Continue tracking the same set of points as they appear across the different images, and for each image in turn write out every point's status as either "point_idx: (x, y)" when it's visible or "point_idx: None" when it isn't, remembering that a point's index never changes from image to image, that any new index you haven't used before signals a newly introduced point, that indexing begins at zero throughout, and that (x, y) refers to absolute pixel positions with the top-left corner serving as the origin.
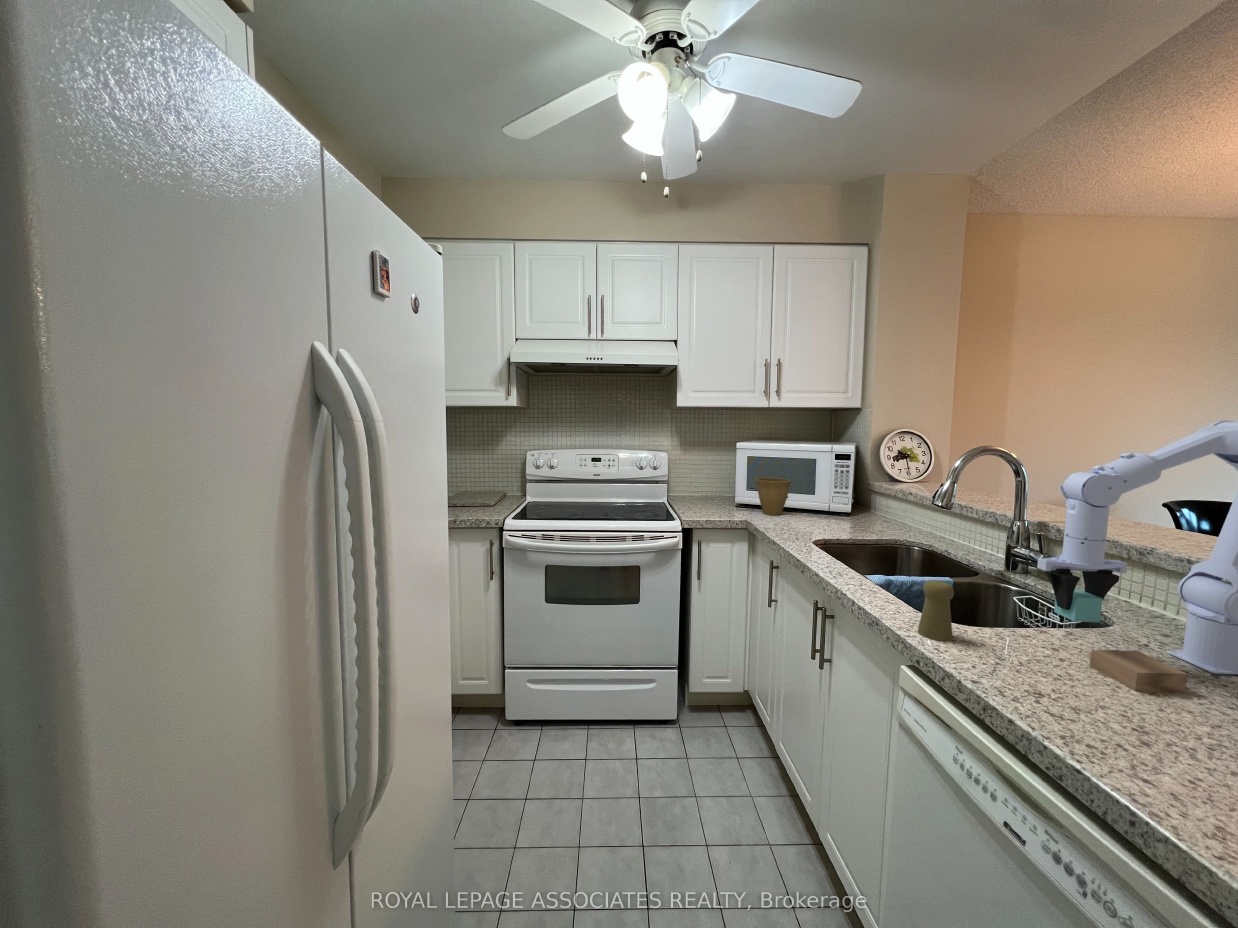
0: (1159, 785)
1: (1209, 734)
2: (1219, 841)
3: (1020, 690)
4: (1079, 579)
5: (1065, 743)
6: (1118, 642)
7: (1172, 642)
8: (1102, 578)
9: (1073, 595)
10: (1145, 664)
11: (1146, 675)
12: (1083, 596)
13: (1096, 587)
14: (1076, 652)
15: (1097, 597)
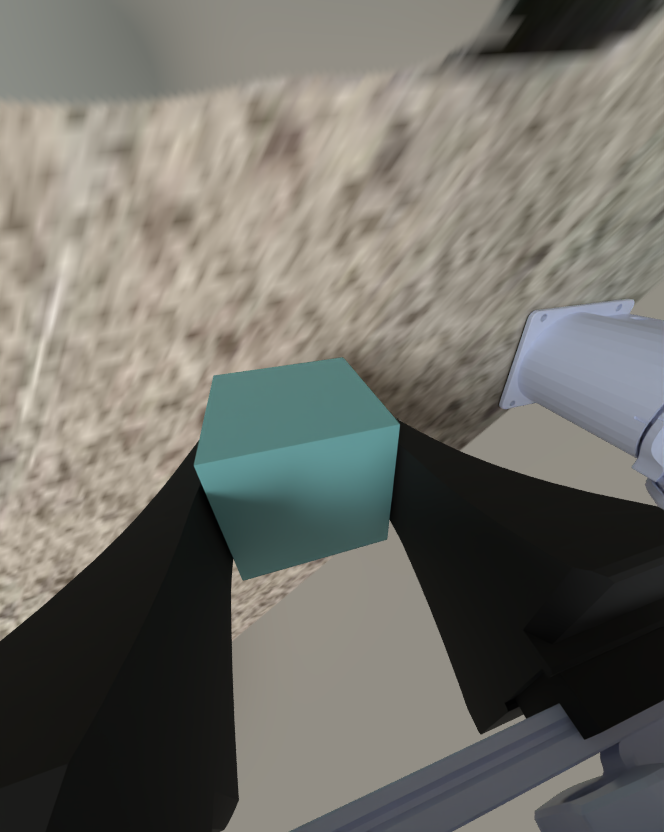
0: None
1: (289, 580)
2: None
3: (27, 583)
4: (235, 779)
5: None
6: (485, 242)
7: (636, 217)
8: (470, 670)
9: (247, 555)
10: None
11: None
12: (302, 547)
13: (423, 555)
14: (286, 355)
15: (374, 534)
